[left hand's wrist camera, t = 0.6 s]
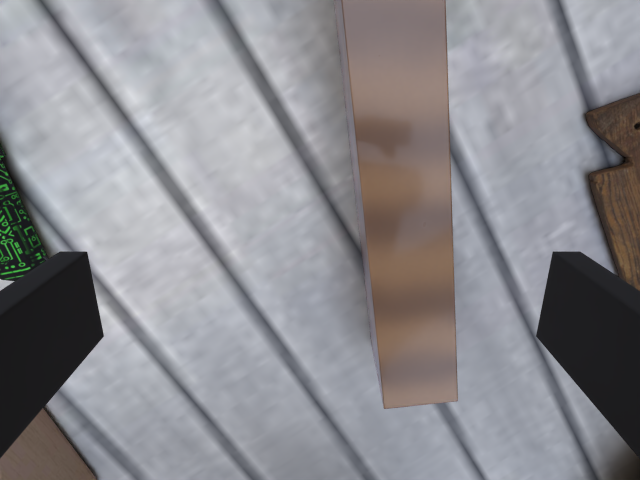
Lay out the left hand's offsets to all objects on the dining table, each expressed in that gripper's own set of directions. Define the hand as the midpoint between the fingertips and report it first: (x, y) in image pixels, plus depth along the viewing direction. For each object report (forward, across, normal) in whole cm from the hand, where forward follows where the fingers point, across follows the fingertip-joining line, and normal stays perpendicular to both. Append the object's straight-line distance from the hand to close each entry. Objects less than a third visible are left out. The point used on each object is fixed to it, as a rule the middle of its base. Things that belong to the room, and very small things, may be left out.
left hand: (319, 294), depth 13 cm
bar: (+24, -2, -20) cm, 31 cm away
